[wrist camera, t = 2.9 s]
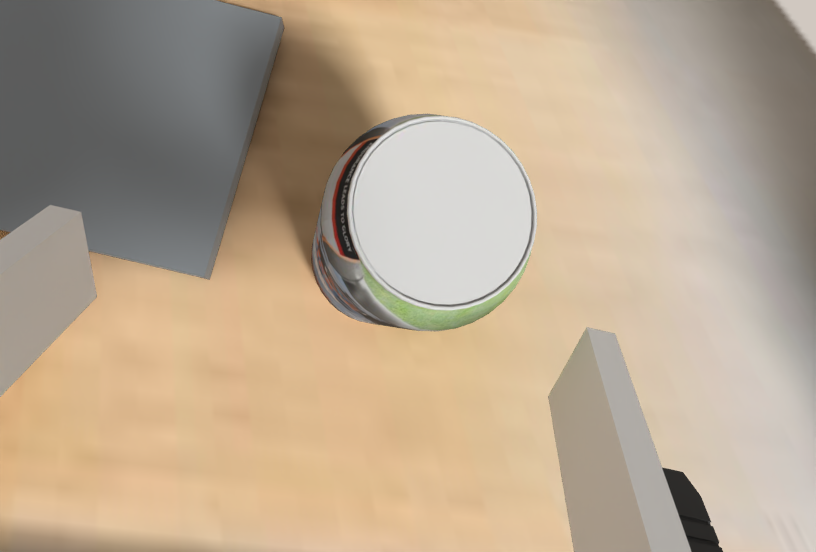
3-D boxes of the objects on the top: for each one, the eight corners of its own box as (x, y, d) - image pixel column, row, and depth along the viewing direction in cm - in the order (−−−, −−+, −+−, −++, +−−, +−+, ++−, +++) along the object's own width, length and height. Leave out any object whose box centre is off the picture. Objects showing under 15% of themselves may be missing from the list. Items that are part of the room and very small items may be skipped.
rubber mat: (284, 27, 26) (281, 17, 25) (209, 279, 24) (204, 277, 23) (-40, -56, 25) (-53, -69, 24) (-145, 195, 23) (-164, 190, 22)
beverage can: (339, 182, 25) (311, 27, 13) (484, 230, 25) (589, 120, 13) (295, 307, 24) (221, 264, 12) (447, 356, 24) (524, 361, 12)
